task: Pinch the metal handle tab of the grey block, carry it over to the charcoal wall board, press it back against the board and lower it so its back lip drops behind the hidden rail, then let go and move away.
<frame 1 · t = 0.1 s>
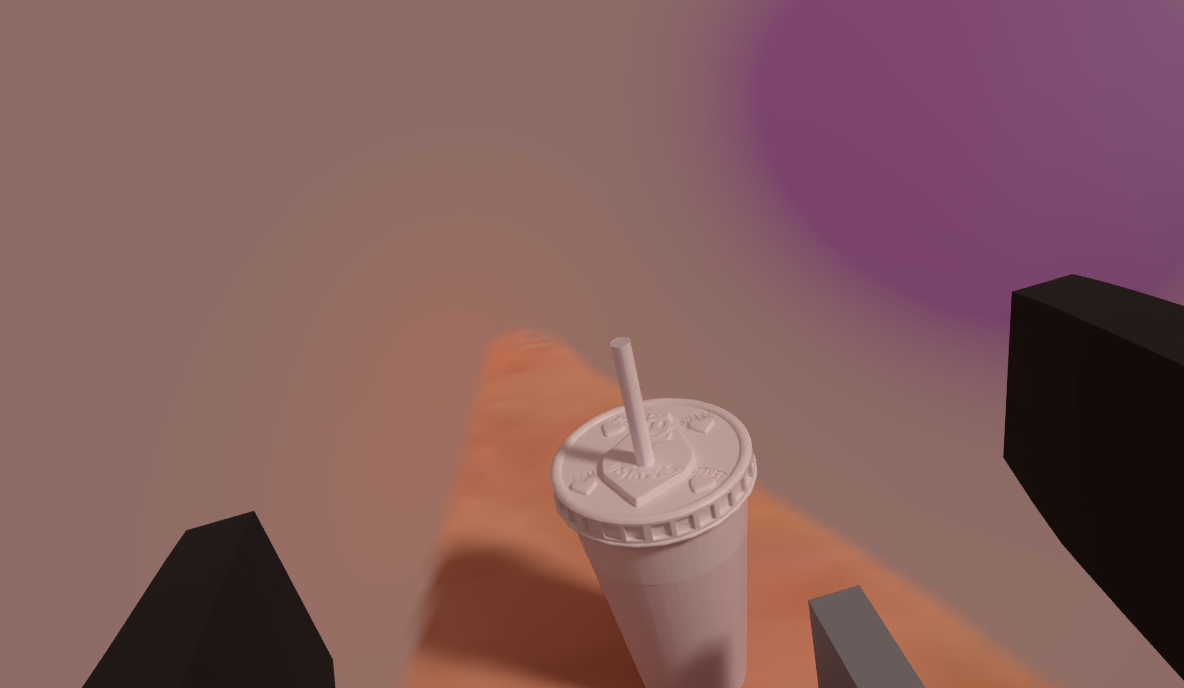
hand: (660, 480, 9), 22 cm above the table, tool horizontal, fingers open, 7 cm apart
smoothie: (695, 674, 35), on the table
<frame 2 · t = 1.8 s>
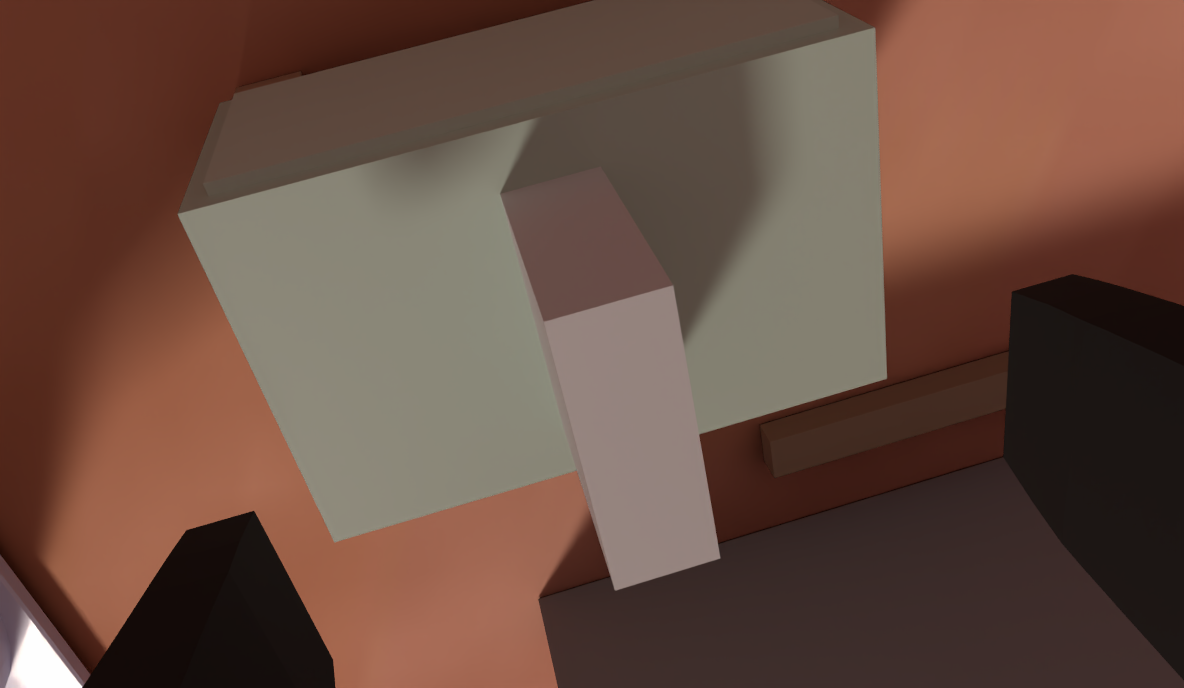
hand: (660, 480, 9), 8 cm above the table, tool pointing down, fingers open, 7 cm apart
wall board: (917, 507, 23), on the table
grey block: (521, 165, 16), on the table
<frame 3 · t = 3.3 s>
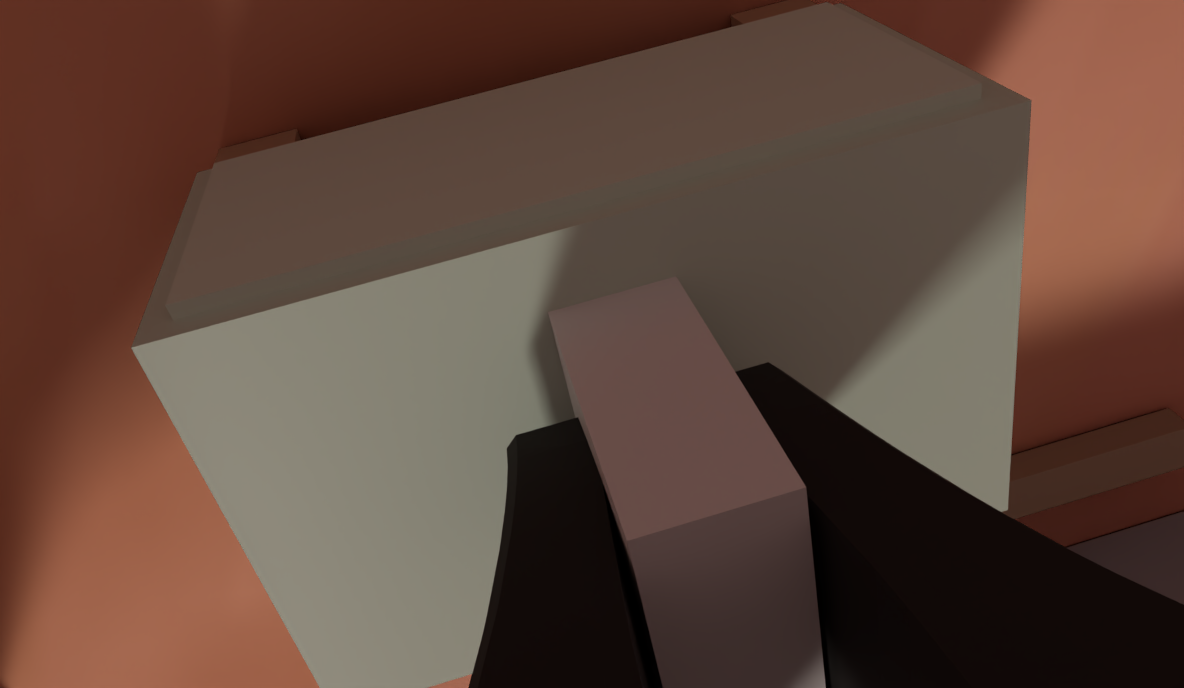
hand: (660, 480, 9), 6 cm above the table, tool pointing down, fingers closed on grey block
wall board: (990, 595, 20), on the table
grey block: (556, 234, 14), on the table, touching gripper
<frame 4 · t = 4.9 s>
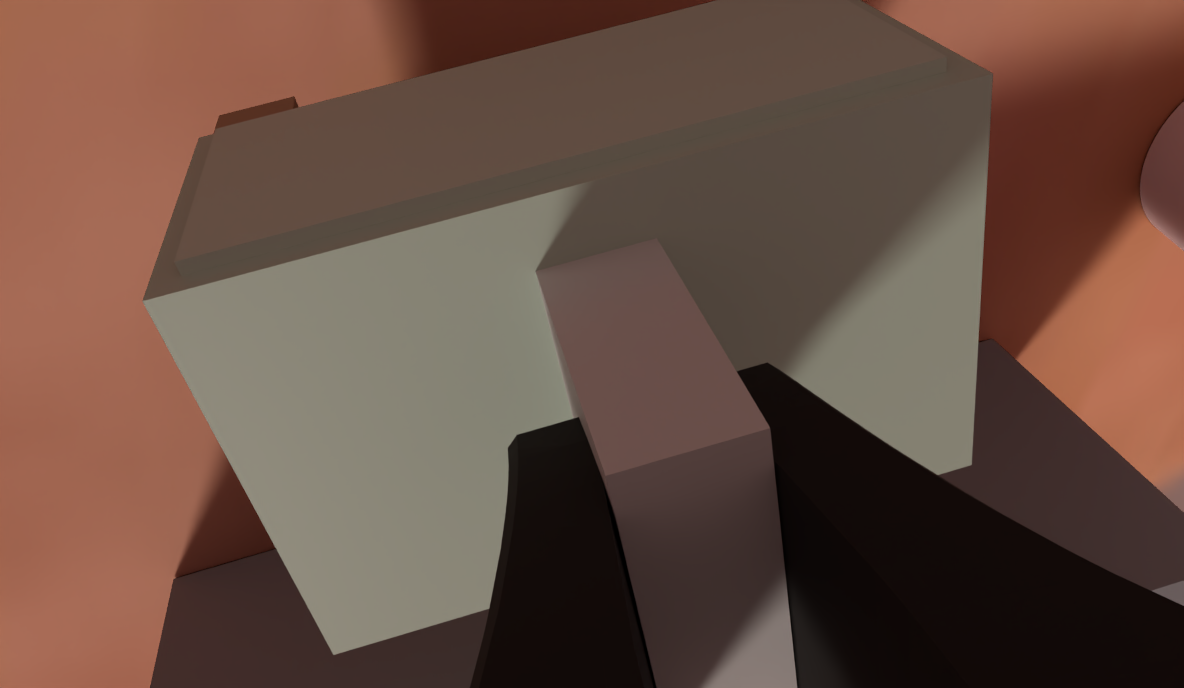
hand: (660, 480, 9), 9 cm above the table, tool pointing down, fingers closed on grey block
wall board: (602, 481, 21), on the table
grey block: (545, 201, 14), point 3 cm above the table, touching gripper
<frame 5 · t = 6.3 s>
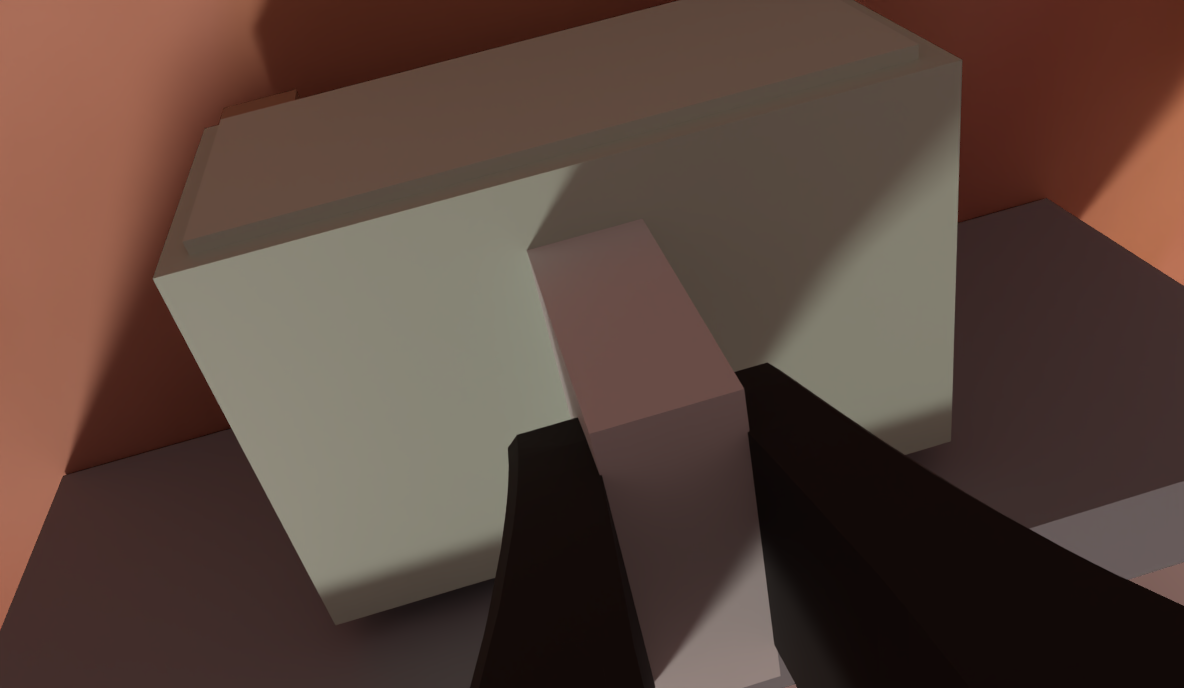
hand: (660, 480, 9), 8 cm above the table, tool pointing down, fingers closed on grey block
wall board: (581, 366, 17), on the table
grey block: (540, 191, 15), point 1 cm above the table, touching gripper
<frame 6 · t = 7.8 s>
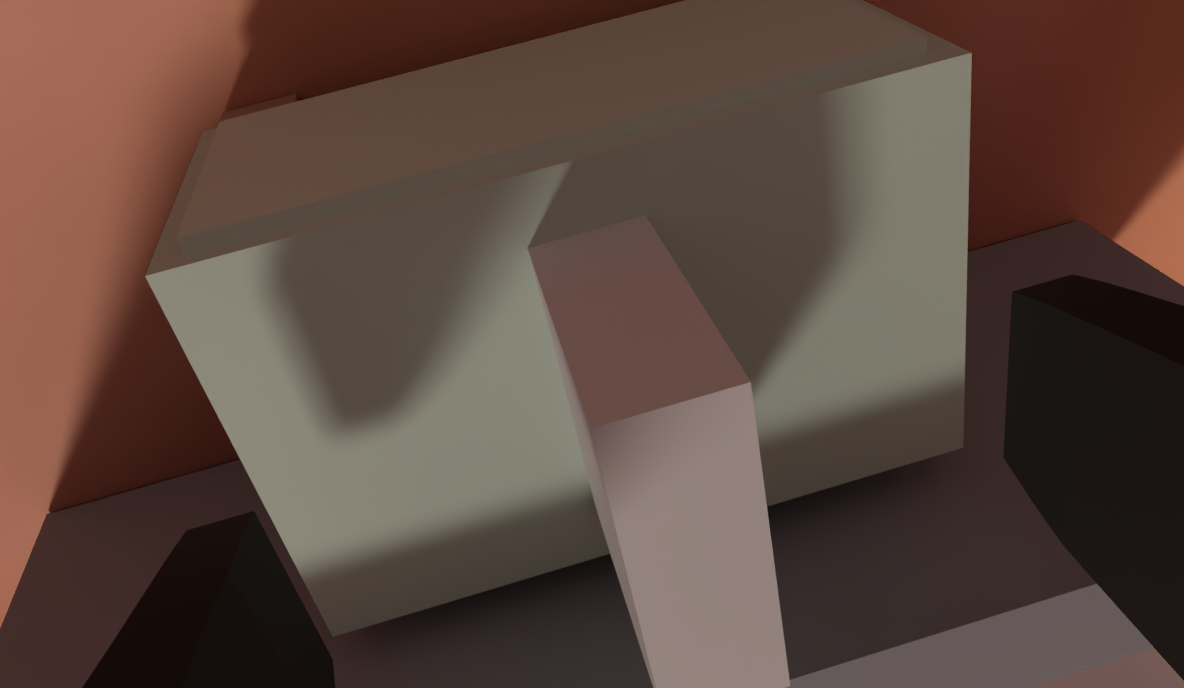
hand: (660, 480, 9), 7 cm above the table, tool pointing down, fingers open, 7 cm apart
wall board: (591, 396, 17), on the table
grey block: (542, 196, 15), resting on wall board
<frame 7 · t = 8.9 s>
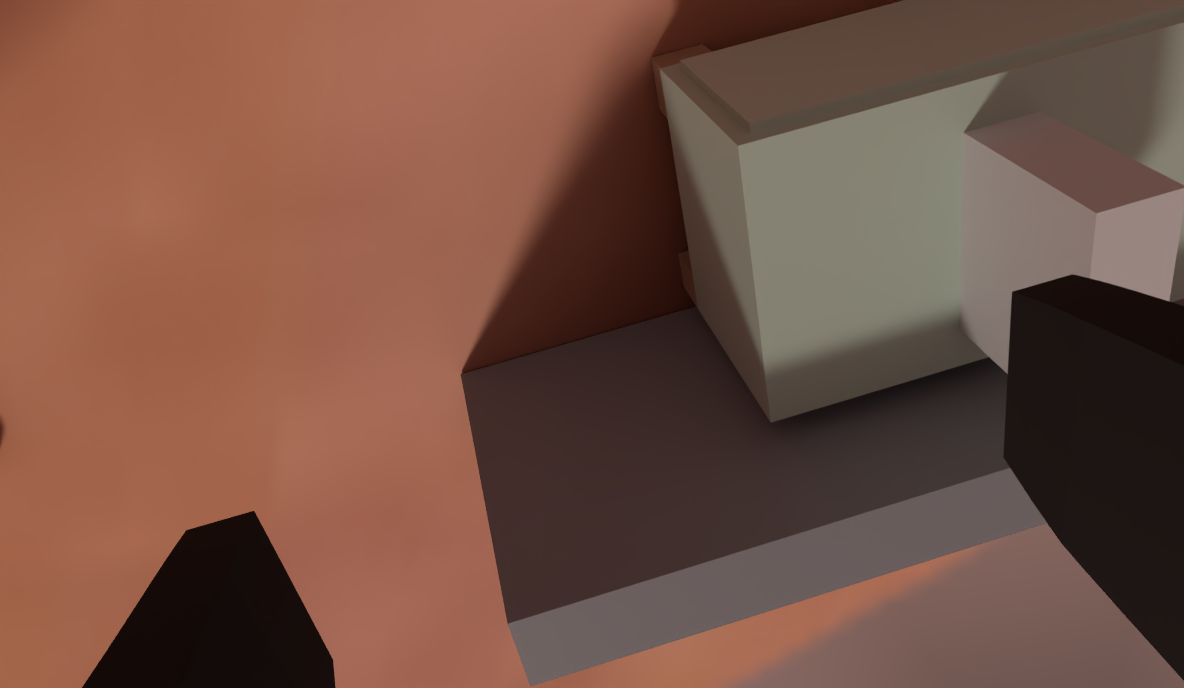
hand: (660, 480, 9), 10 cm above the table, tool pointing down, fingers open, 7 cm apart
wall board: (863, 287, 21), on the table
grey block: (856, 125, 19), resting on wall board
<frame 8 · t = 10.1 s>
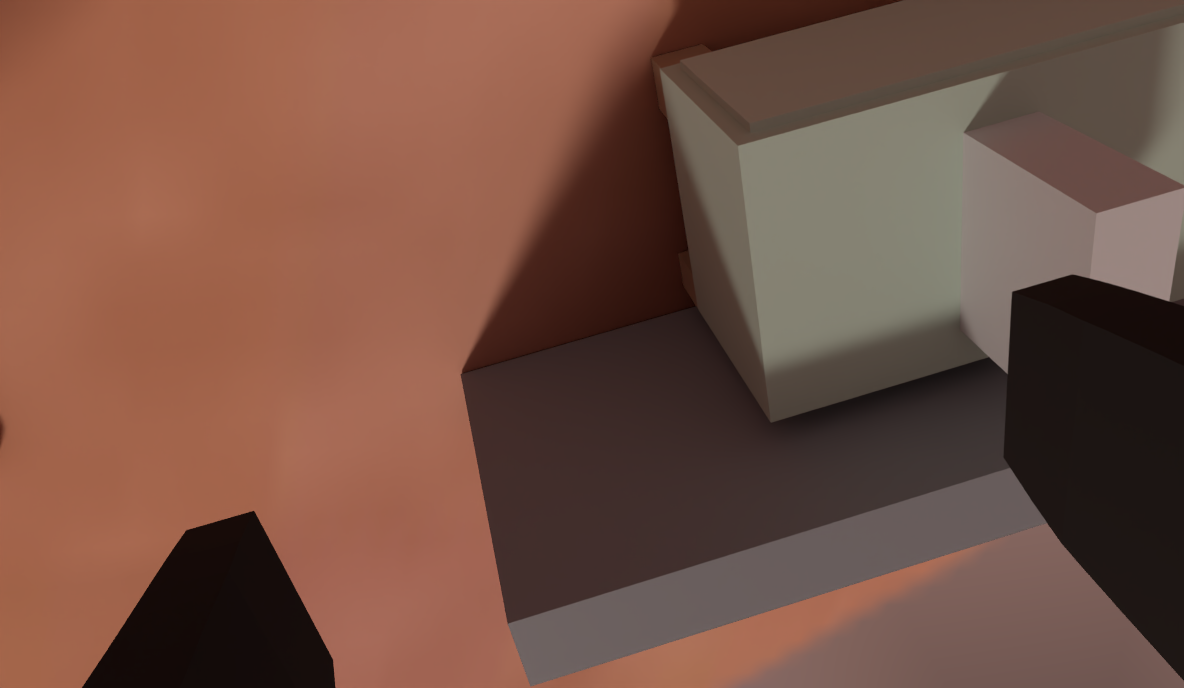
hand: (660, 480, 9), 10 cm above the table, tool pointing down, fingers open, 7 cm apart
wall board: (863, 287, 21), on the table
grey block: (856, 125, 19), resting on wall board
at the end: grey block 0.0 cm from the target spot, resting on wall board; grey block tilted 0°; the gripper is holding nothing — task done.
